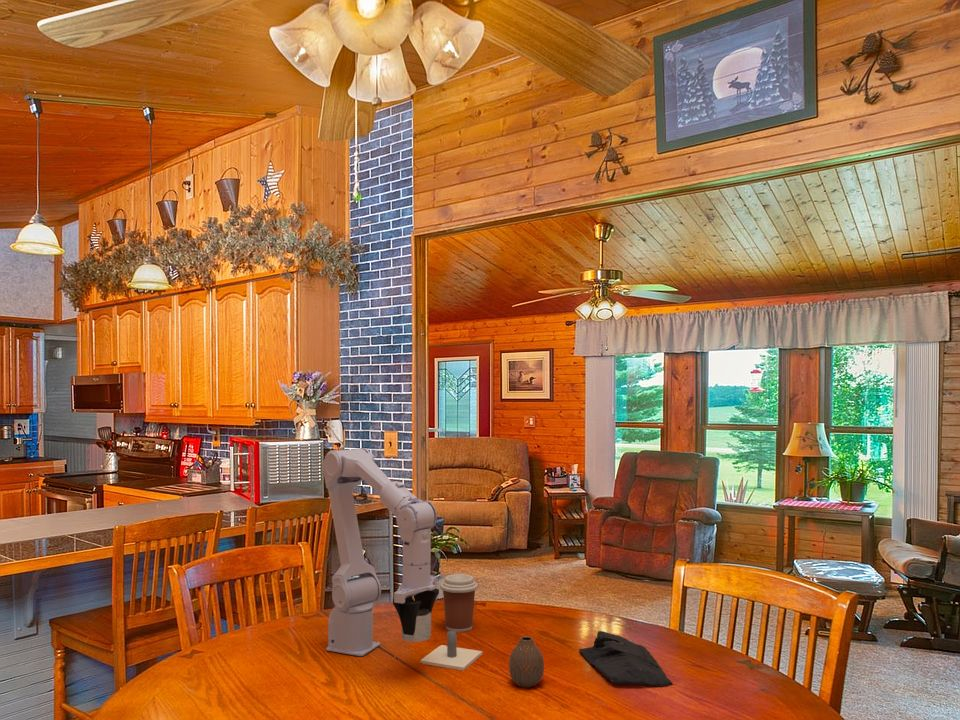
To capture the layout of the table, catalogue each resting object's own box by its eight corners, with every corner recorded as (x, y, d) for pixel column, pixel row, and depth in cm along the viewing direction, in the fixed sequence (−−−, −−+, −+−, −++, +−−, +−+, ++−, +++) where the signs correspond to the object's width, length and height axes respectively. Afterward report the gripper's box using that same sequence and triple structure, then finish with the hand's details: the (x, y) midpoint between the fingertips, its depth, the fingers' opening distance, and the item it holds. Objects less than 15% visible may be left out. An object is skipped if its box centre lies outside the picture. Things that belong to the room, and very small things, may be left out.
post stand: (420, 663, 154) (420, 636, 154) (441, 647, 163) (441, 622, 163) (463, 670, 150) (463, 642, 150) (482, 654, 159) (482, 628, 159)
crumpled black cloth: (600, 692, 140) (600, 667, 140) (576, 651, 162) (576, 629, 162) (678, 689, 141) (678, 665, 142) (644, 649, 163) (643, 627, 164)
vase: (520, 693, 139) (520, 646, 139) (502, 680, 145) (502, 635, 145) (551, 686, 142) (550, 640, 142) (532, 674, 148) (532, 630, 148)
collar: (397, 639, 147) (397, 614, 147) (410, 631, 152) (411, 606, 152) (421, 643, 145) (421, 617, 145) (434, 634, 150) (434, 610, 150)
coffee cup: (439, 622, 180) (439, 573, 181) (475, 620, 181) (475, 572, 182) (441, 634, 171) (441, 582, 172) (479, 633, 172) (479, 581, 173)
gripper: (416, 572, 141) (416, 643, 140) (449, 556, 154) (449, 621, 154) (385, 568, 144) (384, 638, 143) (420, 553, 157) (420, 617, 156)
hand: (416, 629), depth 149 cm, fingers closed on collar, 5 cm apart
